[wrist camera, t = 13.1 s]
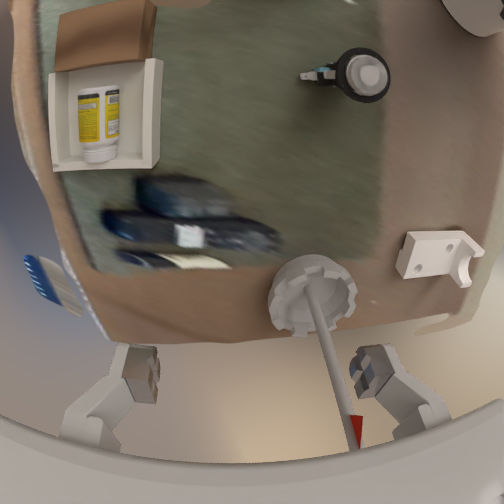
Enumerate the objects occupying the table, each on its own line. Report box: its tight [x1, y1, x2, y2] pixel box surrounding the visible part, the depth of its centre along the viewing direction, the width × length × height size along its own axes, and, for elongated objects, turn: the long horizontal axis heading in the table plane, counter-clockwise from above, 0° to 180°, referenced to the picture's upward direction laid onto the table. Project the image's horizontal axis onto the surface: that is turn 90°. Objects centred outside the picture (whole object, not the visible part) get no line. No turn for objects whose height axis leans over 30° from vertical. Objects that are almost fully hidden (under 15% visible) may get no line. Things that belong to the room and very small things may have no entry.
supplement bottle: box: [78, 85, 119, 163], centre depth 26 cm, size 5×5×8 cm
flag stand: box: [268, 254, 365, 451], centre depth 32 cm, size 13×13×30 cm
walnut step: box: [54, 0, 157, 72], centre depth 21 cm, size 7×10×5 cm
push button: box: [300, 48, 390, 103], centre depth 24 cm, size 7×5×10 cm
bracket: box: [395, 231, 485, 288], centre depth 40 cm, size 13×7×8 cm, turn 91°
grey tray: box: [48, 58, 164, 172], centre depth 27 cm, size 12×13×4 cm
